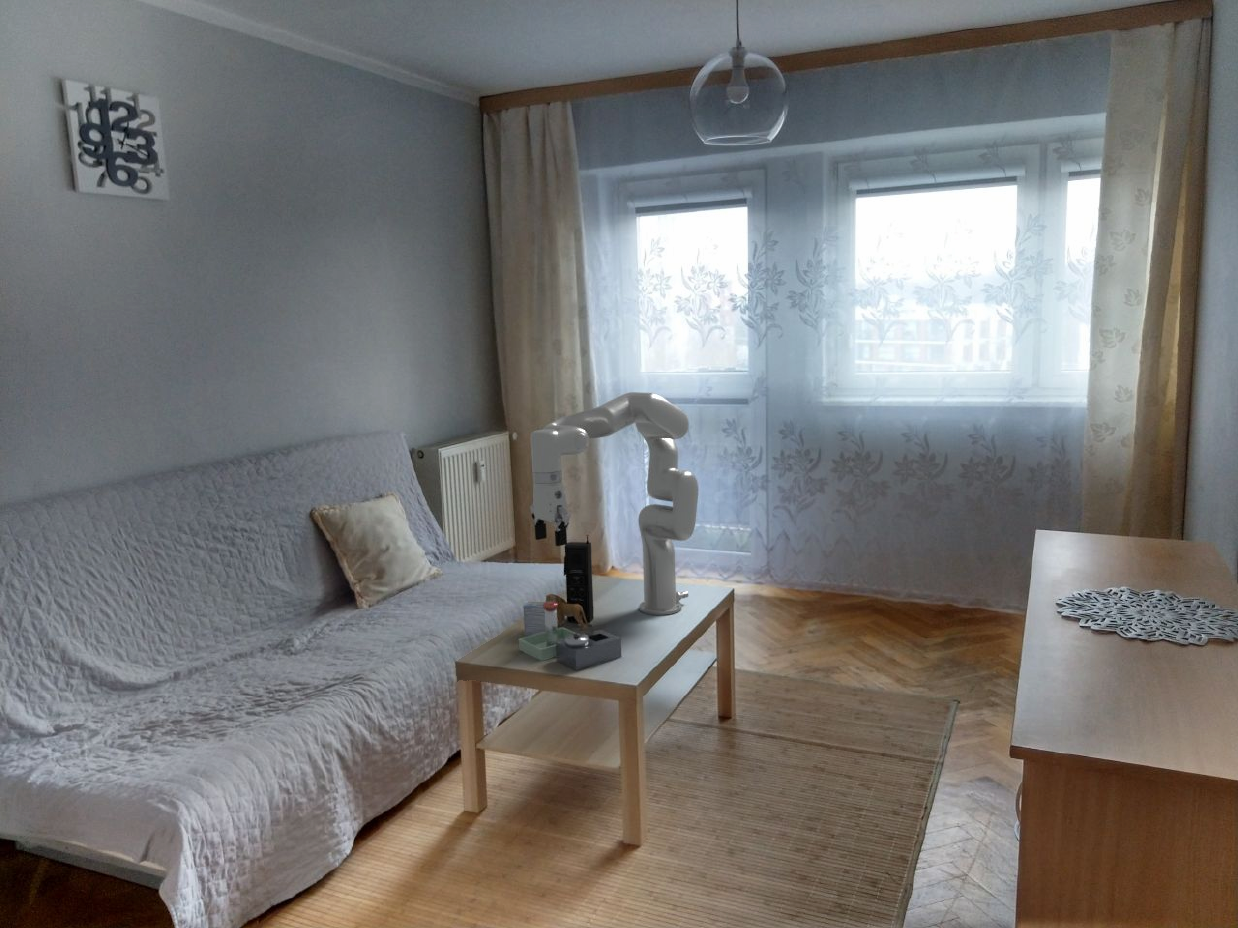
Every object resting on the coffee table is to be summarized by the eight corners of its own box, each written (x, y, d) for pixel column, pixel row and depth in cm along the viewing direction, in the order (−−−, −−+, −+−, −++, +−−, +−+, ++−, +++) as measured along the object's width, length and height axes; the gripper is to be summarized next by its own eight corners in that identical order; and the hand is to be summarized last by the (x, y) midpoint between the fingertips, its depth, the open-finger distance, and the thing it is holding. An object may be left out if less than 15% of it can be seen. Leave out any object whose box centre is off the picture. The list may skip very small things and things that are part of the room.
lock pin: (554, 643, 244) (552, 600, 242) (562, 647, 241) (561, 603, 239) (541, 646, 241) (540, 603, 240) (550, 650, 238) (548, 606, 237)
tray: (563, 637, 250) (563, 627, 249) (586, 648, 241) (585, 637, 240) (519, 649, 241) (518, 638, 241) (541, 660, 233) (540, 649, 232)
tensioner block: (601, 647, 241) (600, 621, 240) (621, 656, 234) (620, 629, 232) (556, 660, 232) (555, 633, 231) (576, 670, 225) (575, 642, 224)
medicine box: (556, 632, 255) (555, 602, 253) (551, 637, 250) (549, 607, 249) (530, 630, 257) (528, 600, 255) (524, 635, 252) (522, 605, 251)
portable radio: (563, 622, 263) (559, 537, 259) (569, 616, 268) (565, 533, 265) (589, 623, 261) (586, 538, 257) (594, 617, 267) (591, 533, 263)
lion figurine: (542, 626, 260) (540, 595, 259) (550, 620, 265) (549, 590, 264) (588, 631, 254) (587, 600, 253) (596, 625, 259) (595, 595, 258)
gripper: (578, 479, 231) (581, 545, 233) (541, 472, 244) (545, 534, 247) (553, 483, 226) (557, 550, 229) (517, 475, 240) (521, 539, 243)
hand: (551, 541), depth 238 cm, fingers open, 9 cm apart
